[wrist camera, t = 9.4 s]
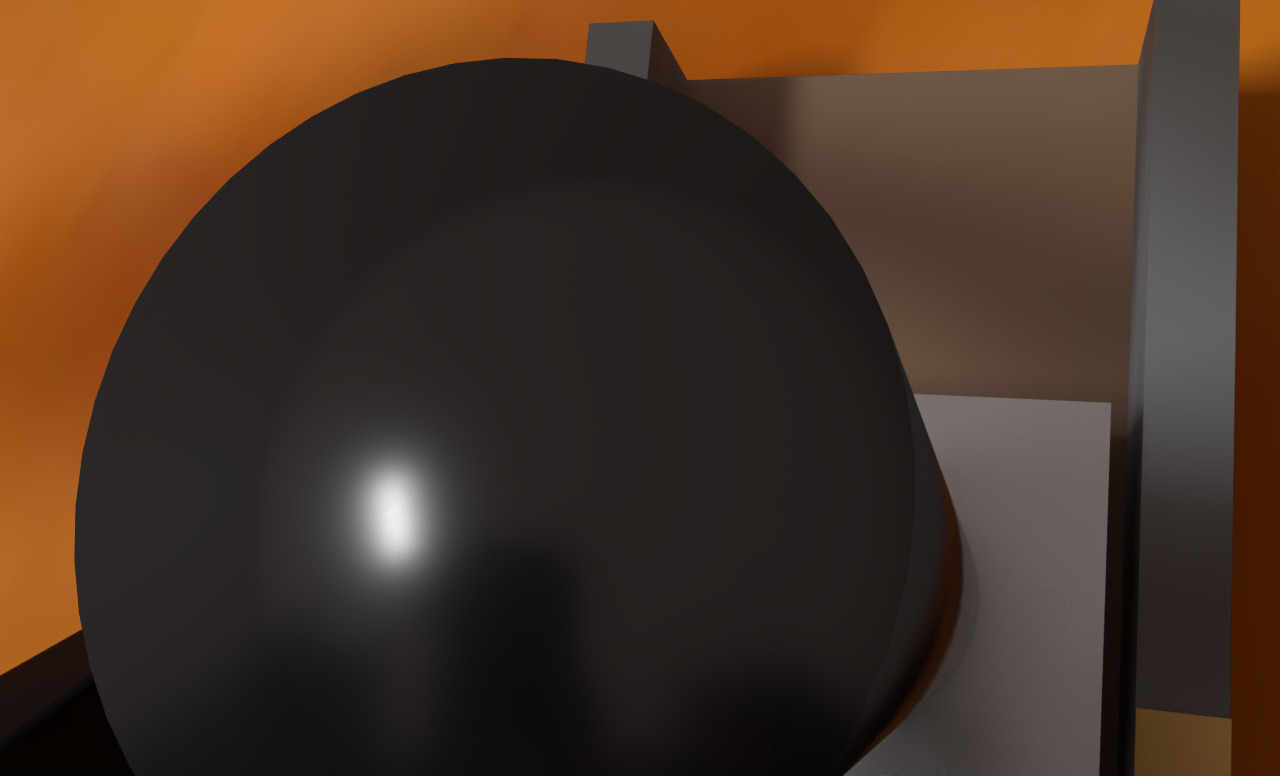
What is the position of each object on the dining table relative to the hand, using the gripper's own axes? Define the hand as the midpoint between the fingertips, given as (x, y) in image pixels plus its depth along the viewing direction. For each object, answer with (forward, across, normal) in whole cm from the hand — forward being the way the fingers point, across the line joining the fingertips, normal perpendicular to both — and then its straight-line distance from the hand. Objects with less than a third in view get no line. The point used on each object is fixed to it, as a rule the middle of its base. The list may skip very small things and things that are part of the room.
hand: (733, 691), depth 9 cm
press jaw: (+6, 0, +5) cm, 8 cm away
